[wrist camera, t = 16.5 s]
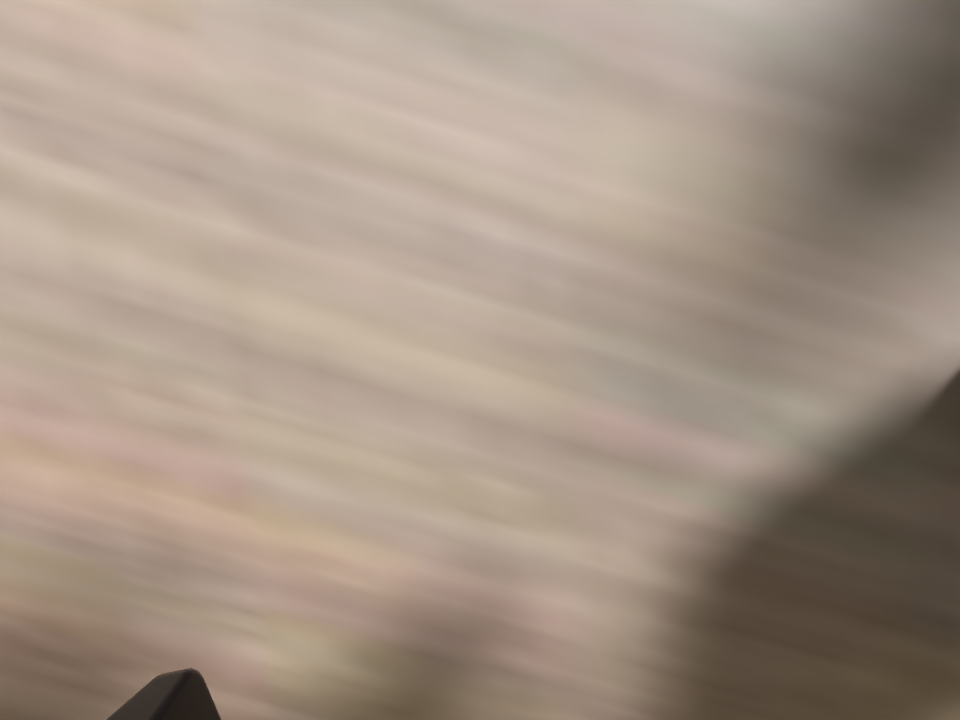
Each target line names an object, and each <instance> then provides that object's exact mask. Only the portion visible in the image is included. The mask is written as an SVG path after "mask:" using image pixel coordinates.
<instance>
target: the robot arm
mask: <svg viewBox="0 0 960 720" xmlns="http://www.w3.org/2000/svg"><path fill="white" fill-rule="evenodd" d="M106 720H221V718H220V716H219V713H218V711H217V709H216V706H215V704H214V702H213V699H212V697H211V695H210V692H209V690H208V688H207V685H206V683H205V681H204V679H203V677H202V675H201V674H200V673H199V672H198V671H197V670H195V669H192V668H189V669H184V670H179V671H174V672H169V673H165V674H161V675H159V676H157V677H155V678H154V679H153V680H152V681H151V682H149V683H148V684H147V685H146V686H145V687H144V688H142V689H141V690H140V691H139V692H138V693H137V694H135V695H134V696H133V697H132V698H131V699H130V700H128V701H127V702H126V703H125V704H124V705H123V706H122V707H120V708H119V709H118V710H117V711H116V712H115V713H113V714H112V715H111V716H110V717H109V718H108V719H106Z"/></svg>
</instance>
